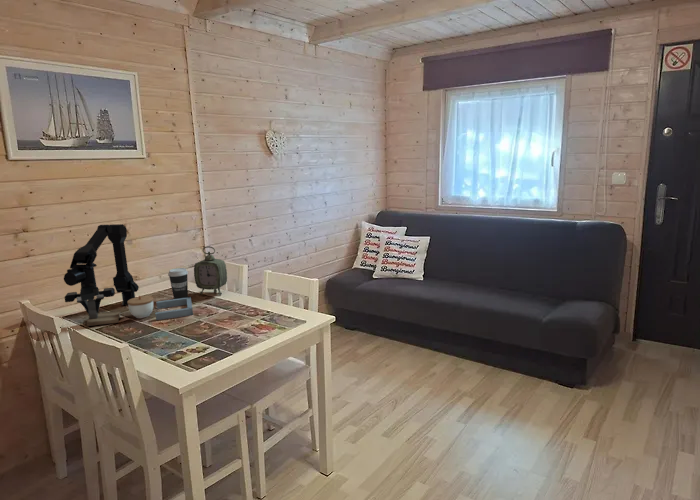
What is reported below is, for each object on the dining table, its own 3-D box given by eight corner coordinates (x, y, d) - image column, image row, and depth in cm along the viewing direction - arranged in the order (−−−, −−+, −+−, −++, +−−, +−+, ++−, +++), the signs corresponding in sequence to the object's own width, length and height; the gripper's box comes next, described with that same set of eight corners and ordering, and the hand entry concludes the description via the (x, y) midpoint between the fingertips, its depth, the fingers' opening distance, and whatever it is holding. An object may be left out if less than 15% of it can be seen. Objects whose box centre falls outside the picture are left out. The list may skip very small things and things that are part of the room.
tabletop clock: (196, 295, 242) (191, 247, 237) (205, 290, 251) (200, 244, 246) (221, 296, 239) (217, 248, 234) (230, 291, 248) (226, 244, 242)
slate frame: (157, 307, 225) (156, 301, 225) (191, 302, 231) (190, 297, 230) (156, 320, 208) (155, 313, 207) (193, 314, 213) (192, 308, 213)
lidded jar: (159, 311, 219) (157, 292, 217) (147, 320, 209) (144, 299, 207) (137, 311, 220) (134, 292, 218) (124, 320, 210) (121, 299, 208)
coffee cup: (166, 301, 235) (163, 272, 232) (178, 295, 244) (175, 267, 241) (183, 302, 232) (179, 272, 229) (194, 296, 241) (191, 267, 238)
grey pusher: (91, 317, 213) (88, 297, 211) (120, 313, 217) (118, 293, 215) (86, 326, 202) (84, 304, 200) (117, 322, 206) (115, 301, 204)
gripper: (59, 286, 193) (65, 322, 197) (109, 280, 200) (114, 315, 203) (64, 280, 204) (70, 314, 207) (112, 274, 210) (117, 308, 213)
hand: (93, 313), depth 207 cm, fingers closed on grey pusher, 3 cm apart
